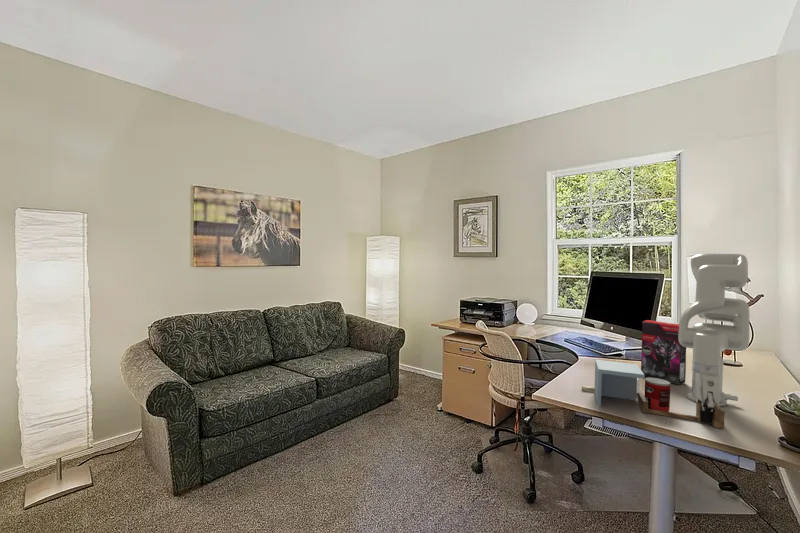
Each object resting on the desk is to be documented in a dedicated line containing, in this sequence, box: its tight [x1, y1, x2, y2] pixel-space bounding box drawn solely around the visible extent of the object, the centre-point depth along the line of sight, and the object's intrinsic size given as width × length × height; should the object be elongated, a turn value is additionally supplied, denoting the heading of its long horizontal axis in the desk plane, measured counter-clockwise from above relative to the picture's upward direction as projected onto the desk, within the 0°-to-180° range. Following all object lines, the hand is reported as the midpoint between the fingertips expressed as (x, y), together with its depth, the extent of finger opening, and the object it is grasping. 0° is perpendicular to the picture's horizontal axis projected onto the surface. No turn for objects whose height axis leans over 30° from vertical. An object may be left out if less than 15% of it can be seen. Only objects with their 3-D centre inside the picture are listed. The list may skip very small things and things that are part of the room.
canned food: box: [644, 377, 671, 412], centre depth 142 cm, size 8×8×11 cm
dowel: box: [581, 385, 595, 393], centre depth 160 cm, size 12×2×2 cm, turn 72°
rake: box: [637, 391, 726, 430], centre depth 137 cm, size 23×15×6 cm, turn 66°
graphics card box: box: [640, 319, 687, 385], centre depth 178 cm, size 17×7×27 cm, turn 32°
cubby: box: [593, 359, 645, 408], centre depth 147 cm, size 15×15×14 cm
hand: (703, 419), depth 132 cm, fingers closed on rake, 3 cm apart
